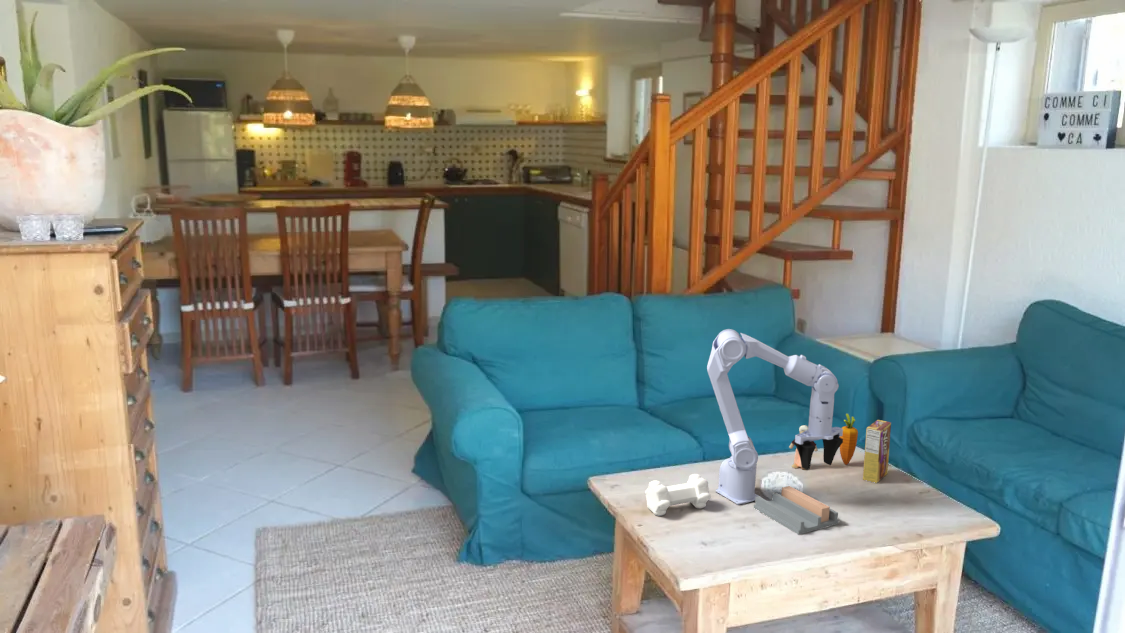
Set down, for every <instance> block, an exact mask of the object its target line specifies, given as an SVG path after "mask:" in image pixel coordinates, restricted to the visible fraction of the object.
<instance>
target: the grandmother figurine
mask: <svg viewBox="0 0 1125 633" xmlns="http://www.w3.org/2000/svg"><path fill="white" fill-rule="evenodd" d="M798 429H799V430H798V431H799V434H801V433H802V432H804V431H806V430H808V425H807V424H805V425H804V424H803V425H801V426H799V428H798ZM794 441H795V438H794V439H793V440H791V443H790V445H789V446H788V448H789V449H791V450H792V449H793V448H794V447H795V444H794ZM810 443H811V445H813V446H815V447H816V448H815V450H814V452H816V453H817V452H818V451H819V449H818V447H817V443H816V442H815V441H810ZM791 468H793V469H799V468H800V469H801V470H804V471H807V470H806V469H804V468H802V465H801V460H800V455H799V452H798V450H797V448H796V449H795V453H794V459H793V464H792V465H791Z"/></svg>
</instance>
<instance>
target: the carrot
mask: <svg viewBox="0 0 1125 633" xmlns="http://www.w3.org/2000/svg"><path fill="white" fill-rule="evenodd" d="M845 416H846V419H843V422H844V423H845V426H842V427H841V428H842V429H843V435H842V436H839V437H840V438H842V439H843V443H842V444H841V445H840V447H839V455H840V457H841V460H842V462H843V465H845V466H847V465H848V464H849V463H850V461H851V460H852V458H853V456H854V454H855V452H856V451H855V450H856V447H857V443H858V435H859V432H858V429H857V428H855V427H854V423H855V422H856V419H855V417H854V416H851V417H850V415H849V413H845Z"/></svg>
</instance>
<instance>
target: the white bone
mask: <svg viewBox="0 0 1125 633" xmlns="http://www.w3.org/2000/svg"><path fill="white" fill-rule="evenodd" d="M644 495H645V499H646V506H647V509H648V510H650V511H651V512H652V513H653V514H654V515H655V516H659V517H660V516H661V517H662V516H664V515H666V513H667V510H668V508H669V507H670V506H676V505H681V504H682V505H683V504H687V503H688V504H689V503H690V504H691V505H693V506H694V508H696V509H704V508H705V507H706V506H707V503H708V500H710V499H711V497H712V496H711V493H710V488H709V482H708V479H705V478H703V477H702V475H701V474H699V473H691V474H690V475H689V476H688V480H687V482H686V483H679V484H674V485H673V484H672V485H668V486H667V485H666V486H665V485H664V484H663V483H662V482H661V481H659V480H657V479H655V480H652V481H650V482H649V483H648V487H647V488H646V489H645V491H644Z"/></svg>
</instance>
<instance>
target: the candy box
mask: <svg viewBox="0 0 1125 633" xmlns="http://www.w3.org/2000/svg"><path fill="white" fill-rule="evenodd" d="M891 429H892V422H891V421H886V420H880V419H877V420H875V421H874V422H873V423H871V424H870V425H869V426H867V427H866V430H865V431H866V432H865V442H864V443H865V444H864V445H865V446H864V455H863V456H864V459H863V472H862V480H863V481H865V480H867V482H869V481H871V482H870V483H873V482H875V483H874V484H878V483H879V482H880V481H881V480H882V479H884V477H886V475H888V472H889V471H888V469H889V459H890V458H889V457H890V444H891V443H890V442H891ZM877 482H878V483H877Z"/></svg>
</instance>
